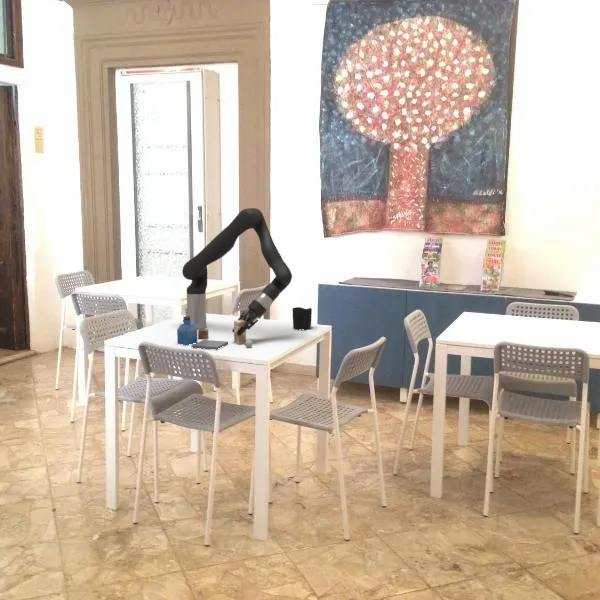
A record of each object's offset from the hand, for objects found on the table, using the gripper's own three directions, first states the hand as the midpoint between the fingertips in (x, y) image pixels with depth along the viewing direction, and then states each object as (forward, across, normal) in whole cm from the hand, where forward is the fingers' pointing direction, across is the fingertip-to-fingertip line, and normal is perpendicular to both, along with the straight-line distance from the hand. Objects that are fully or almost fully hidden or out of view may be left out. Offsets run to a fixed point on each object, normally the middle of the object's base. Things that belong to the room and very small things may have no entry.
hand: (236, 333), depth 326 cm
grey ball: (+1, +10, +4) cm, 11 cm away
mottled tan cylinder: (+2, 0, +5) cm, 5 cm away
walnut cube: (+10, -17, -3) cm, 20 cm away
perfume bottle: (+17, -10, -10) cm, 22 cm away
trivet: (+12, 0, -5) cm, 13 cm away
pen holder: (-26, -17, +33) cm, 45 cm away
